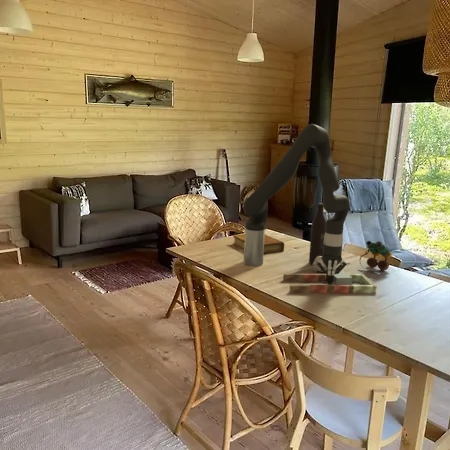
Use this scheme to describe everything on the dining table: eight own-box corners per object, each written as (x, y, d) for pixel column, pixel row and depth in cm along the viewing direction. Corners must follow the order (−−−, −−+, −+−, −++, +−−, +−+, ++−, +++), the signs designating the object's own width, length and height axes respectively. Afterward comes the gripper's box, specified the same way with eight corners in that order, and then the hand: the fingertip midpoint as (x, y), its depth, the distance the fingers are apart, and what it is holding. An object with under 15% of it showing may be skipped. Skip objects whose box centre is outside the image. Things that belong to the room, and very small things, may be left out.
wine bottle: (319, 266, 213) (324, 205, 207) (306, 263, 217) (310, 203, 211) (325, 263, 219) (330, 203, 212) (312, 260, 223) (317, 201, 216)
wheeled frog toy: (389, 279, 208) (399, 250, 211) (380, 270, 198) (390, 240, 201) (361, 272, 217) (370, 244, 220) (351, 263, 207) (361, 234, 210)
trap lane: (290, 292, 179) (290, 285, 179) (283, 280, 194) (283, 273, 193) (375, 293, 182) (376, 286, 181) (362, 280, 196) (363, 274, 196)
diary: (283, 252, 238) (284, 242, 237) (254, 256, 230) (254, 245, 228) (260, 241, 258) (261, 231, 257) (232, 244, 249) (233, 234, 248)
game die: (323, 280, 206) (332, 268, 198) (306, 272, 207) (314, 260, 199) (327, 266, 212) (336, 254, 204) (311, 259, 213) (319, 246, 205)
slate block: (336, 288, 186) (337, 278, 185) (329, 282, 193) (329, 272, 192) (351, 287, 188) (352, 277, 187) (343, 281, 194) (344, 272, 193)
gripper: (319, 245, 179) (316, 286, 183) (351, 246, 180) (347, 286, 184) (314, 240, 187) (311, 279, 190) (345, 241, 187) (342, 280, 191)
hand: (329, 283), depth 187 cm, fingers closed
